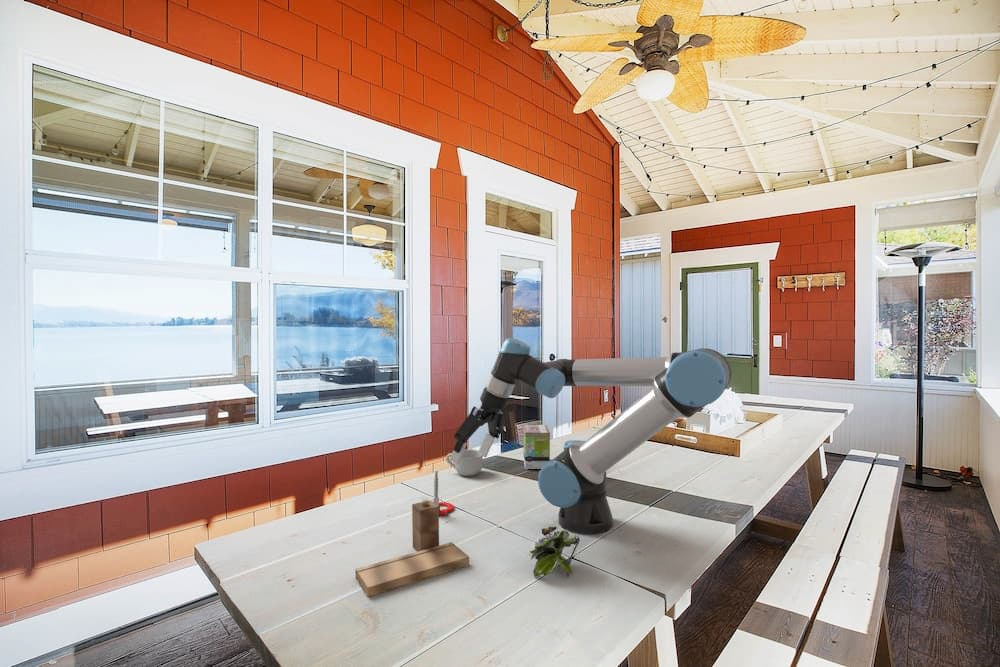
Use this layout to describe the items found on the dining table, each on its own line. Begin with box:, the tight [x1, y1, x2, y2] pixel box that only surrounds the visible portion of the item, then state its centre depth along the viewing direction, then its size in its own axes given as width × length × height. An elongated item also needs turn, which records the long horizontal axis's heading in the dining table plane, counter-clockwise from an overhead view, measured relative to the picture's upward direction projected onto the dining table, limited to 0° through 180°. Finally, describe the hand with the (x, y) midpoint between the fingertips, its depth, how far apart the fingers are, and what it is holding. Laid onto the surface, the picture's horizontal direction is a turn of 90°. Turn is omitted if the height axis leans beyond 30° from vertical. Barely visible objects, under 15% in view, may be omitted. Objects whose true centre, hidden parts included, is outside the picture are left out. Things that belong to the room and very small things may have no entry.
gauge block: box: [411, 499, 440, 552], centre depth 122 cm, size 5×5×12 cm
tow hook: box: [432, 470, 455, 516], centre depth 148 cm, size 8×13×9 cm
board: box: [354, 542, 470, 598], centre depth 111 cm, size 24×9×2 cm, turn 123°
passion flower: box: [528, 525, 581, 578], centre depth 110 cm, size 11×11×12 cm
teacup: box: [445, 448, 484, 477], centre depth 183 cm, size 14×11×8 cm
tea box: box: [523, 424, 551, 470], centre depth 194 cm, size 15×10×15 cm, turn 179°
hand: (468, 458), depth 138 cm, fingers open, 13 cm apart
